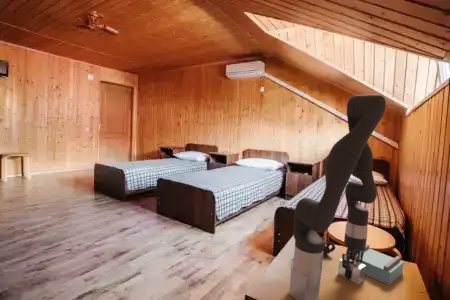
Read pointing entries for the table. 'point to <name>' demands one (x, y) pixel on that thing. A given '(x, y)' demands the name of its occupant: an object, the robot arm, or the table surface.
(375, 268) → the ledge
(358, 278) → the block
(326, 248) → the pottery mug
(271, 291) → the table surface
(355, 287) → the table surface
